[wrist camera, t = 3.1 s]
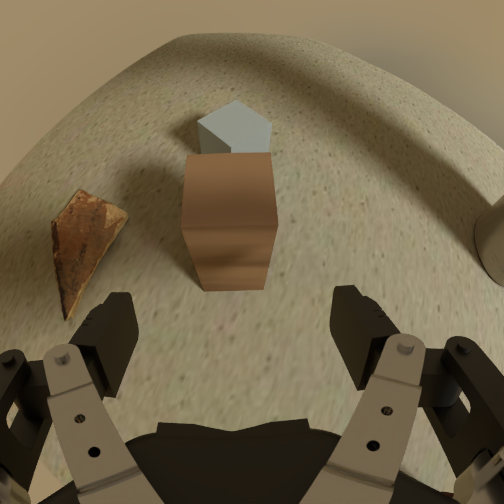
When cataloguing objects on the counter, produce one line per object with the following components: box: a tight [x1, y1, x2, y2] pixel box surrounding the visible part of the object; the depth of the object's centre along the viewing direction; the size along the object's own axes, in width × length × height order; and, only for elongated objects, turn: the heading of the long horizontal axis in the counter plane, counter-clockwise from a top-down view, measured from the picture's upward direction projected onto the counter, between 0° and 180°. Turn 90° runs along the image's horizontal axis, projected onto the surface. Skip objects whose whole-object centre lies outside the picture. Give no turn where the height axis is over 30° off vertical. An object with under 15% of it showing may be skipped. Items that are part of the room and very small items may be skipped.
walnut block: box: [180, 152, 278, 291], centre depth 19 cm, size 4×4×10 cm
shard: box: [51, 190, 129, 321], centre depth 23 cm, size 11×8×2 cm
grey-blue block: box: [197, 100, 272, 154], centre depth 26 cm, size 4×4×5 cm
